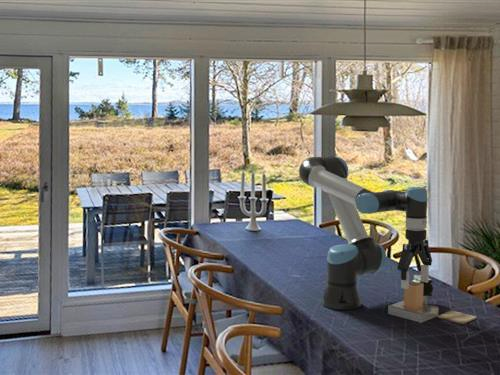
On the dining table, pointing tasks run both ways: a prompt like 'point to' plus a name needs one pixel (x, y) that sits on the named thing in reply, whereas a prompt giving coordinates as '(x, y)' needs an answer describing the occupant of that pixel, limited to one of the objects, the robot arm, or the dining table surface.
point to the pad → (457, 317)
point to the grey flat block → (413, 312)
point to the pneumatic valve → (426, 289)
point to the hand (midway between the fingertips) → (414, 285)
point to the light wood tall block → (414, 296)
